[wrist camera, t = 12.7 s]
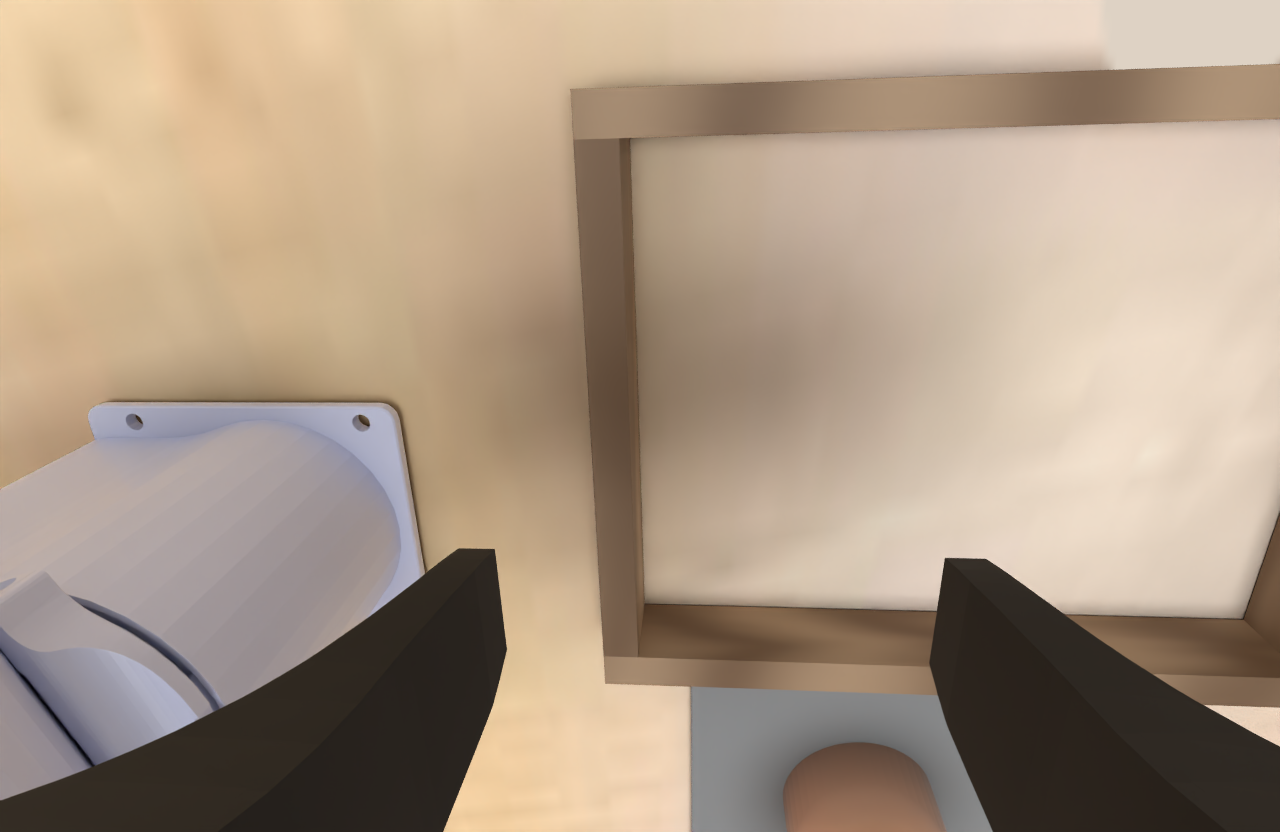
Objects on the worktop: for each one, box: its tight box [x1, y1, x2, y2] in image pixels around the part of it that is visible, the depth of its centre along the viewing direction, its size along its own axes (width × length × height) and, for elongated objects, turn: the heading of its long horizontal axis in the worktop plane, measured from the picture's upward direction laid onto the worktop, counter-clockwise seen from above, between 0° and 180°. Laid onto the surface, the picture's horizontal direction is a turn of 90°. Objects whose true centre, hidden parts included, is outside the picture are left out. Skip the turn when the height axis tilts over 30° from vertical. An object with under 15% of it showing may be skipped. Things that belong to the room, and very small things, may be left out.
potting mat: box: [691, 687, 993, 832], centre depth 25 cm, size 11×11×1 cm
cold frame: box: [570, 64, 1280, 707], centre depth 19 cm, size 20×16×2 cm
